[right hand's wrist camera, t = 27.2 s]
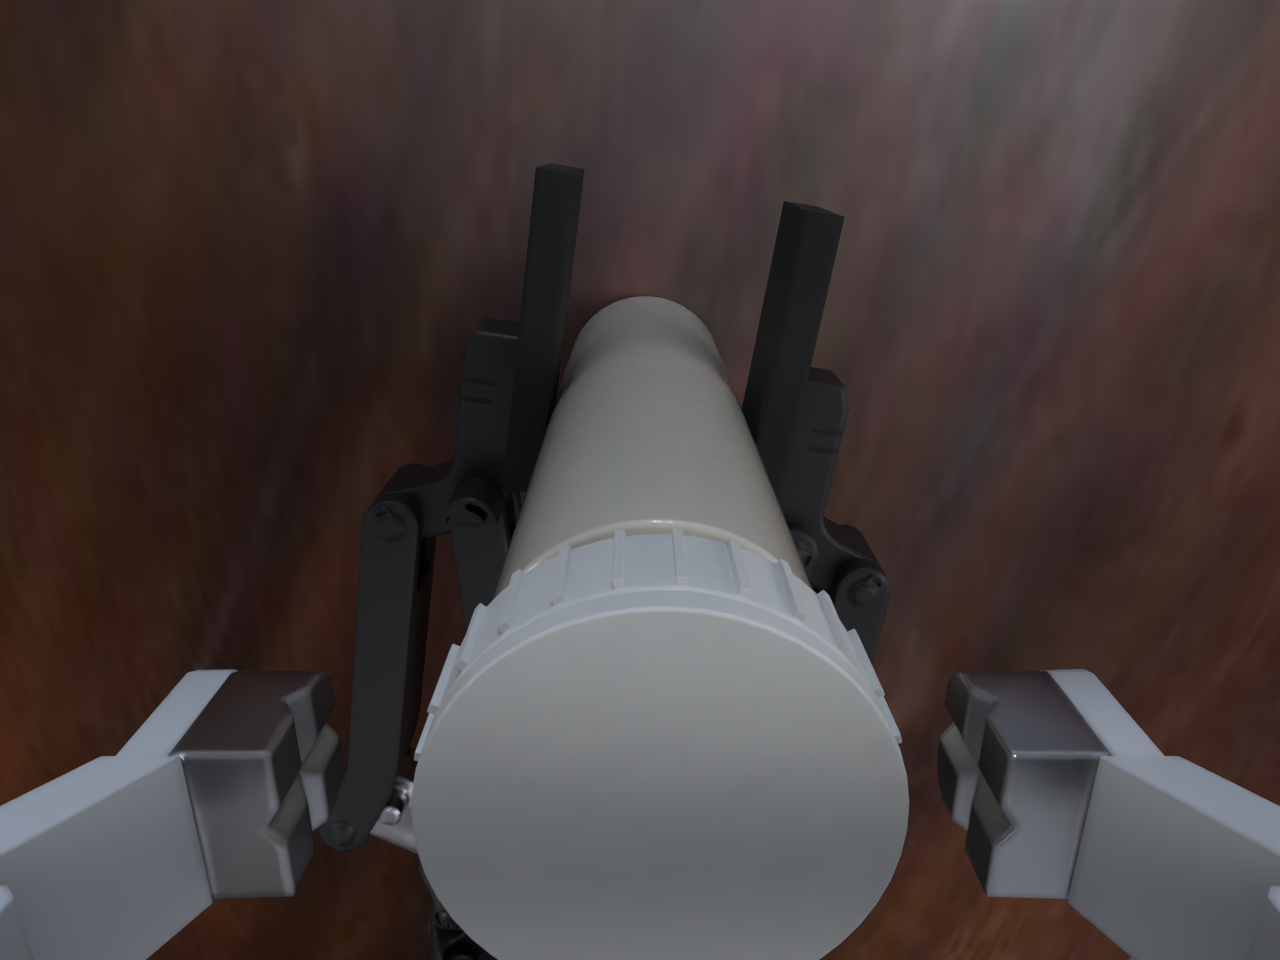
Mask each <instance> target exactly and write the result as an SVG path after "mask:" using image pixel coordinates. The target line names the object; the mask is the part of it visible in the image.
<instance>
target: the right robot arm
mask: <svg viewBox="0 0 1280 960" xmlns="http://www.w3.org/2000/svg"><path fill="white" fill-rule="evenodd" d="M334 705H335V699H334V694H333V689H332V683H331V679H330V678H329V677H328V676H327V674H326V673H325V672H318V671H269V670H239V671H237V670H234V669H231V670H196V671H192V672H188V673H187V674H186V675H185V676H184V677H183V678H182V679H181V680H180V682H179V683H178V684H177V685H176V686H175V687H174V689H173V690H172V691H171V692H170V693H169V694H168V696H167V697H166V698H165V699H164V700H163V701H162V703H161V704H160V705H159V706H158V707H157V708H156V709H155V711H154V712H153V713H152V714H151V715H150V716H149V718H148V719H147V720H146V721H145V722H144V723H143V725H142V726H141V727H140V728H139V729H138V730H137V732H136V733H135V734H134V735H133V736H132V737H131V739H130V740H129V741H128V742H127V743H126V744H125V746H124V747H123V748H122V749H121V750H120V751H119V752H118V754H117V755H116V756H101V757H99V758H97V759H95V760H93V761H91V762H88V763H86V764H84V765H82V766H80V767H78V768H76V769H74V770H72V771H70V772H68V773H66V774H64V775H62V776H60V777H58V778H56V779H54V780H52V781H50V782H48V783H46V784H44V785H42V786H40V787H38V788H36V789H34V790H32V791H30V792H28V793H26V794H24V795H22V796H20V797H18V798H16V799H14V800H12V801H10V802H8V803H6V804H4V805H2V806H0V960H146V959H147V958H148V957H149V956H151V955H152V954H153V953H154V952H155V951H157V950H158V949H159V948H160V947H161V946H162V945H164V944H165V943H166V942H167V941H168V940H169V939H171V938H172V937H173V936H174V935H175V934H177V933H178V932H179V931H180V930H181V929H182V928H184V927H185V926H186V925H187V924H188V923H189V922H191V921H192V920H193V919H194V918H195V917H197V916H198V915H199V914H200V913H201V912H202V911H204V910H205V909H206V908H207V907H208V906H209V905H211V904H212V899H218V898H253V897H288V896H294V894H295V892H296V889H297V887H298V885H299V883H300V881H301V879H302V877H303V874H304V872H305V870H306V868H307V866H308V864H309V861H310V859H311V857H312V855H313V853H314V851H315V844H314V838H313V830H315V829H316V828H318V827H319V826H320V825H322V824H323V823H325V822H326V821H327V820H329V818H330V816H331V813H332V811H333V809H334V806H335V804H336V802H337V798H338V793H339V788H340V783H341V778H342V748H341V740H340V736H339V735H338V734H337V733H336V732H335V731H334V730H333V729H332V727H331V726H330V725H329V724H328V723H327V722H326V720H327V719H328V717H329V715H330V713H331V711H332V709H333V707H334ZM945 705H946V707H947V709H948V711H949V713H950V715H951V717H952V719H953V720H954V722H953V723H952V724H951V725H950V726H949V727H948V729H947V730H946V731H945V732H944V733H943V734H942V735H941V736H940V741H939V750H938V759H937V763H938V776H939V786H940V790H941V794H942V798H943V801H944V804H945V806H946V809H947V811H948V813H949V816H950V818H951V820H953V821H954V822H955V823H957V824H958V825H960V826H961V827H962V828H964V829H965V830H967V831H968V832H967V838H966V844H965V851H966V853H967V855H968V857H969V859H970V861H971V864H972V866H973V868H974V870H975V872H976V874H977V876H978V879H979V881H980V883H981V885H982V887H983V889H984V891H985V893H986V896H990V897H1026V898H1061V899H1068V901H1067V903H1069V904H1070V905H1071V906H1072V907H1073V908H1074V909H1076V910H1077V911H1078V912H1079V913H1080V914H1082V915H1083V916H1084V917H1085V918H1086V919H1087V920H1089V921H1090V922H1091V923H1092V924H1093V925H1094V926H1096V927H1097V928H1098V929H1099V930H1100V931H1101V932H1103V933H1104V934H1105V935H1106V936H1107V937H1109V938H1110V939H1111V940H1112V941H1113V942H1114V943H1116V944H1117V945H1118V946H1119V947H1120V948H1121V949H1123V950H1124V951H1125V952H1126V953H1127V954H1128V955H1130V956H1131V957H1132V958H1133V959H1134V960H1280V806H1278V805H1276V804H1274V803H1272V802H1270V801H1268V800H1266V799H1264V798H1262V797H1260V796H1258V795H1256V794H1254V793H1252V792H1250V791H1248V790H1246V789H1244V788H1242V787H1240V786H1238V785H1236V784H1234V783H1232V782H1230V781H1228V780H1226V779H1224V778H1222V777H1220V776H1218V775H1216V774H1214V773H1212V772H1210V771H1208V770H1206V769H1204V768H1202V767H1200V766H1198V765H1196V764H1193V763H1191V762H1189V761H1187V760H1185V759H1183V758H1181V757H1179V756H1164V755H1163V754H1162V753H1161V751H1160V750H1159V749H1158V748H1157V747H1156V746H1155V744H1154V743H1153V742H1152V741H1151V740H1150V739H1149V737H1148V736H1147V735H1146V734H1145V733H1144V732H1143V730H1142V729H1141V728H1140V727H1139V726H1138V725H1137V723H1136V722H1135V721H1134V720H1133V719H1132V718H1131V717H1130V715H1129V714H1128V713H1127V712H1126V711H1125V710H1124V708H1123V707H1122V706H1121V705H1120V704H1119V703H1118V701H1117V700H1116V699H1115V698H1114V697H1113V696H1112V694H1111V693H1110V692H1109V691H1108V690H1107V689H1106V688H1105V686H1104V685H1103V684H1102V683H1101V682H1100V681H1099V679H1098V678H1097V677H1096V676H1095V675H1094V674H1093V673H1091V672H1089V671H1087V670H1084V669H1070V670H1043V671H1021V672H977V673H953V674H952V676H951V679H950V681H949V683H948V686H947V693H946V699H945Z"/></svg>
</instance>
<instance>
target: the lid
mask: <svg viewBox="0 0 1280 960" xmlns="http://www.w3.org/2000/svg"><path fill="white" fill-rule="evenodd" d="M884 695H885V693H884V691H883V689H882V687H881V684H880V682H879V680H878V678H877V675H876V673H875V671H874V669H873V667H872V664H871V662H870V660H869V658H868V656H867V653H866V651H865V649H864V647H863V644H862V642H861V640H860V638H859V636H858V634H857V632H856V630H855V629H852V630H850V631H848V632H847V630H846V629H845V627H844V626H843V624H842V622H841V621H840V619H839V617H838V615H837V613H836V610H835V608H834V605H833V603H832V601H831V598H830V596H829V595H828V594H827V593H826V592H825V591H824V590H822V591H821V592H820V593H818V594H817V593H816V592H814V591H813V590H812V589H811V588H810V587H809V586H807V585H806V584H805V583H804V582H803V581H802V580H800V579H799V578H798V577H796V576H795V575H793V574H792V571H791V568H790V566H789V563H788V562H786V561H785V560H783V559H780V560H779V561H778V562H777V564H776V563H774V562H772V561H770V560H768V559H765V558H763V557H761V556H759V555H757V554H755V553H753V552H751V551H748V550H745V549H742V548H740V544H739V540H737V539H734V538H731V537H729V539H728V541H727V543H724V542H720V541H715V540H710V539H705V538H700V537H695V536H686V535H683V529H682V528H672V534H644V535H630V536H626V534H625V530H618V531H615V533H614V538H612V539H606V540H601V541H598V542H594V543H591V544H588V545H584V546H581V547H577V548H574V549H572V548H571V546H570V544H566V545H563V546H561V547H560V549H559V555H558V556H556V557H553V558H551V559H549V560H547V561H545V562H543V563H542V564H540V565H538V566H536V567H535V568H533V569H531V570H530V571H528V572H526V573H525V574H524V573H523V572H522V570H521V569H518V570H517V571H515V572H514V573H513V574H512V576H511V580H510V583H509V586H508V587H506V588H505V589H504V590H503V591H501V592H500V593H499V594H498V595H497V596H496V598H495V599H494V600H493V601H492V602H491V603H490V604H489V605H488V606H487V607H486V606H484V605H483V604H481V603H480V604H479V605H478V606H477V607H476V608H475V610H474V613H473V616H472V619H471V622H470V624H469V627H468V630H467V633H466V636H465V638H464V639H463V641H462V643H461V645H460V646H457V645H455V644H452V646H451V648H450V650H449V653H448V656H447V658H446V661H445V664H444V666H443V669H442V672H441V675H440V677H439V680H438V683H437V685H436V688H435V691H434V693H433V696H432V699H431V702H430V704H429V707H428V710H427V712H428V713H429V715H428V718H427V721H426V723H425V726H424V729H423V732H422V734H421V737H420V740H419V743H418V745H417V748H416V751H415V756H414V760H415V761H418V764H417V767H416V770H415V777H414V783H413V789H412V826H413V832H414V838H415V844H416V849H417V852H418V855H419V858H420V861H421V864H422V867H423V870H424V873H425V875H426V877H427V879H428V881H429V883H430V885H431V887H432V889H433V891H434V892H435V894H436V896H437V898H438V899H439V901H440V902H441V904H442V905H443V906H444V908H445V909H446V911H447V912H448V913H449V915H450V916H451V918H452V919H453V920H454V921H455V922H456V923H457V924H458V925H459V926H460V927H461V928H462V930H463V931H464V932H465V933H466V934H467V935H468V936H469V937H470V938H471V939H472V940H473V941H475V942H476V943H477V944H478V945H479V946H481V947H482V948H483V949H484V950H486V951H487V952H488V953H489V954H490V955H492V956H493V957H495V958H496V959H498V960H819V959H820V958H822V957H823V956H824V955H826V954H827V953H828V952H830V951H831V950H832V949H834V948H835V947H836V946H838V945H839V944H840V943H841V942H842V941H843V940H845V939H846V938H847V937H848V936H849V935H850V934H851V933H852V932H853V931H854V930H855V929H856V928H857V927H858V926H859V925H860V924H861V923H862V922H863V920H864V919H865V918H866V916H867V915H868V914H869V913H870V911H871V910H872V909H873V908H874V906H875V905H876V904H877V903H878V901H879V899H880V898H881V896H882V894H883V892H884V891H885V889H886V887H887V886H888V884H889V882H890V881H891V879H892V876H893V874H894V871H895V869H896V866H897V864H898V861H899V859H900V857H901V853H902V849H903V845H904V840H905V836H906V832H907V825H908V812H909V794H908V783H907V774H906V770H905V767H904V763H903V759H902V755H901V751H900V748H899V746H898V744H899V743H902V739H901V734H900V732H899V730H898V728H897V725H896V723H895V721H894V719H893V716H892V714H891V712H890V710H889V708H888V705H887V703H886V701H885V699H884Z"/></svg>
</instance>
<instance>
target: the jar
mask: <svg viewBox="0 0 1280 960" xmlns="http://www.w3.org/2000/svg"><path fill="white" fill-rule="evenodd" d="M672 528H682V529H683V535H686V536H695V537H700V538H705V539H710V540H715V541H720V542H724V543H727V541H728V539H729V537H731V538H734V539H737V540H739V544H740V548H742V549H745V550H748V551H751V552H753V553H755V554H757V555H759V556H761V557H763V558H765V559H768V560H770V561H772V562H774V563H776V564H777V562H778V561H779V560H780V559H783V560H785V561H786V562H788V563H789V566H790V568H791V571H792V574H793V575H795V576H796V577H798V578H799V579H800V580H802V581H803V582H804V583H805V584H806V585H807V586H809V587H810V588H811V589H812V586H811V584H810V581H809V579H808V576H807V574H806V571H805V569H804V566H803V564H802V561H801V559H800V556H799V553H798V551H797V548H796V546H795V543H794V541H793V538H792V536H791V533H790V531H789V528H788V526H787V523H786V520H785V518H784V515H783V513H782V510H781V508H780V505H779V503H778V500H777V498H776V495H775V493H774V490H773V488H772V485H771V482H770V480H769V477H768V475H767V472H766V470H765V467H764V465H763V462H762V460H761V457H760V455H759V452H758V449H757V447H756V444H755V442H754V439H753V437H752V434H751V432H750V429H749V427H748V424H747V422H746V419H745V417H744V414H743V411H742V409H741V406H740V404H739V401H738V399H737V396H736V394H735V391H734V389H733V386H732V384H731V381H730V379H729V376H728V373H727V371H726V368H725V366H724V363H723V361H722V358H721V356H720V353H719V351H718V348H717V346H716V343H715V341H714V339H713V337H712V335H711V333H710V331H709V330H708V329H707V327H706V326H705V324H704V323H703V322H702V321H701V320H700V319H699V318H698V317H697V316H696V315H695V314H693V313H692V312H691V311H690V310H688V309H687V308H685V307H683V306H682V305H680V304H677V303H675V302H673V301H670V300H667V299H663V298H658V297H651V296H640V297H631V298H627V299H623V300H620V301H617V302H615V303H612V304H610V305H608V306H607V307H605V308H603V309H602V310H600V311H599V312H598V313H596V314H595V315H594V316H593V317H592V318H591V319H590V320H589V321H588V322H587V323H586V324H585V326H584V327H583V328H582V329H581V331H580V333H579V334H578V336H577V338H576V340H575V343H574V345H573V347H572V350H571V354H570V357H569V360H568V363H567V366H566V369H565V372H564V376H563V379H562V382H561V385H560V388H559V391H558V395H557V398H556V401H555V404H554V407H553V410H552V413H551V417H550V420H549V423H548V426H547V429H546V432H545V436H544V439H543V442H542V445H541V448H540V451H539V454H538V458H537V461H536V464H535V467H534V470H533V473H532V477H531V480H530V483H529V486H528V489H527V492H526V495H525V499H524V502H523V505H522V508H521V511H520V514H519V517H518V521H517V524H516V527H515V530H514V533H513V536H512V540H511V543H510V546H509V549H508V552H507V555H506V558H505V562H504V565H503V568H502V571H501V574H500V577H499V581H498V584H497V587H496V590H495V593H494V596H493V599H492V601H493V600H494V599H495V598H496V596H497V595H498V594H499V593H500V592H501V591H503V590H504V589H505V588H506V587H508V586H509V583H510V580H511V576H512V574H513V573H514V572H515V571H517V570H518V569H521V570H522V572H523V573H524V574H525V573H526V572H528V571H530V570H531V569H533V568H535V567H536V566H538V565H540V564H542V563H543V562H545V561H547V560H549V559H551V558H553V557H556V556H558V555H559V549H560V547H561V546H563V545H566V544H570V546H571V548H572V549H574V548H577V547H581V546H584V545H588V544H591V543H594V542H598V541H601V540H606V539H612V538H614V533H615V531H618V530H625V534H626V536H630V535H644V534H672ZM812 590H813V589H812Z"/></svg>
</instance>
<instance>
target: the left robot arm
mask: <svg viewBox="0 0 1280 960" xmlns="http://www.w3.org/2000/svg"><path fill="white" fill-rule="evenodd" d="M583 176H584V169H580V168H574V167H567V166H561V165H555V164H547V165H543V166H540V167H536V172H535V182H534V192H533V201H532V211H531V220H530V230H529V240H528V249H527V259H526V268H525V278H524V288H523V297H522V307H521V316H520V323H517V322H510V321H504V320H497V319H490V318H486V319H485V320H484V321H483V322H482V324H481V325H480V326H479V327H478V328H477V329H476V331H475V332H474V334H473V336H472V338H471V340H470V342H469V344H468V346H467V348H466V350H465V352H464V356H463V368H462V382H461V393H460V405H459V417H458V429H457V441H456V453H455V458H454V459H452V460H451V461H449V462H446V463H442V464H438V465H433V466H427V467H426V466H424V465H421V464H407V465H405V466H402V467H400V468H399V469H398V470H397V471H396V472H395V474H394V475H393V476H392V477H391V479H390V480H389V482H388V483H387V484H386V486H385V487H384V488H383V490H382V491H381V493H380V494H379V495H378V497H377V498H376V499H375V501H374V502H373V503H372V505H371V506H370V508H369V509H368V510H367V512H366V513H365V516H364V519H363V524H362V540H361V556H360V572H359V588H358V604H357V620H356V636H355V652H354V668H353V684H352V700H351V716H350V732H349V748H348V764H347V768H346V770H345V772H344V774H343V776H342V779H341V783H340V788H339V793H338V798H337V802H336V804H335V806H334V809H333V811H332V813H331V816H330V818H329V820H327V821H326V822H325V823H323V824H322V825H320V828H319V833H320V837H321V839H322V840H323V841H324V842H325V844H326V845H328V846H330V847H331V848H333V849H336V850H340V851H352V850H355V849H357V848H360V847H361V846H362V845H363V844H364V842H365V841H366V839H367V838H368V836H369V834H371V835H373V836H376V837H378V838H381V839H383V840H385V841H388V842H390V843H392V844H395V845H397V846H399V847H402V848H404V849H407V850H409V851H411V852H414V853H416V854H418V852H417V849H416V844H415V838H414V832H413V826H412V789H413V783H414V777H415V770H416V767H417V764H418V761H415V760H414V756H415V751H416V749H415V748H410V747H409V746H410V743H411V740H412V738H413V735H414V732H415V729H416V726H417V722H418V717H419V711H420V703H421V693H422V682H423V672H424V661H425V651H426V641H427V630H428V620H429V609H430V599H431V588H432V578H433V567H434V557H435V546H436V536H437V535H442V534H448V533H451V539H452V545H453V551H454V557H455V563H456V569H457V575H458V582H459V588H460V594H461V600H462V606H463V612H464V618H465V624H466V630H468V627H469V624H470V622H471V619H472V616H473V613H474V610H475V608H476V607H477V606H478V605H479V604H480V603H481V604H483V605H484V606H486V607H487V606H488V605H489V604H490V603H491V602H492V599H493V596H494V593H495V590H496V587H497V584H498V581H499V577H500V574H501V571H502V568H503V565H504V562H505V558H506V555H507V552H508V549H509V546H510V543H511V540H512V536H513V533H514V530H515V527H516V524H517V521H518V517H519V514H520V511H521V508H522V507H521V499H520V491H522V492H527V489H528V486H529V483H530V480H531V477H532V473H533V470H534V467H535V464H536V461H537V458H538V454H539V451H540V448H541V445H542V442H543V439H544V436H545V432H546V429H547V426H548V423H549V420H550V417H551V413H552V410H553V407H554V404H555V401H556V397H557V388H558V380H559V372H560V364H561V356H562V348H563V339H564V331H565V323H566V315H567V307H568V299H569V290H570V282H571V274H572V266H573V258H574V250H575V242H576V233H577V225H578V217H579V209H580V201H581V193H582V184H583ZM843 221H844V217H843V216H841V215H838V214H835V213H833V212H830V211H828V210H825V209H822V208H820V207H816V206H810V205H804V204H798V203H792V202H785V201H784V204H783V208H782V213H781V218H780V223H779V228H778V233H777V238H776V243H775V248H774V253H773V258H772V263H771V268H770V273H769V278H768V283H767V288H766V293H765V298H764V303H763V308H762V313H761V318H760V322H759V327H758V332H757V337H756V342H755V347H754V352H753V357H752V362H751V367H750V372H749V377H748V382H747V387H746V392H745V397H744V402H743V407H742V411H743V414H744V417H745V419H746V422H747V424H748V427H749V429H750V432H751V434H752V437H753V439H754V442H755V444H756V447H757V449H758V452H759V455H760V457H761V460H762V462H763V465H764V467H765V470H766V472H767V475H768V477H769V480H770V482H771V485H772V488H773V490H774V493H775V495H776V498H777V500H778V503H779V505H780V508H781V510H782V513H783V515H784V518H785V520H786V523H787V526H788V528H789V531H790V533H791V536H792V538H793V541H794V543H795V546H796V548H797V551H798V553H799V556H800V559H801V561H802V564H803V566H804V569H805V571H806V574H807V576H808V579H809V581H810V584H811V586H812V589H813V591H814V592H816V593H817V594H818V593H820V592H821V591H822V590H824V591H825V592H826V593H827V594H828V595H829V596H830V598H831V601H832V603H833V605H834V608H835V610H836V613H837V615H838V617H839V619H840V621H841V622H842V624H843V626H844V627H845V629H846V630H847V632H848V631H850V630H852V629H855V630H856V632H857V634H858V636H859V638H860V640H861V642H862V644H863V647H864V649H865V651H866V653H867V656H868V658H869V660H870V662H871V664H872V662H873V659H874V655H875V651H876V647H877V644H878V640H879V636H880V632H881V629H882V625H883V621H884V617H885V614H886V610H887V606H888V602H889V599H890V591H891V586H890V584H889V581H888V579H887V577H886V575H885V573H884V572H883V570H882V568H881V566H880V564H879V563H878V561H877V559H876V557H875V555H874V554H873V552H872V550H871V548H870V547H869V545H868V543H867V542H866V540H865V538H864V536H863V534H862V533H861V532H860V531H859V530H858V529H856V528H855V527H852V526H849V525H838V524H836V523H834V522H832V521H830V520H829V519H827V518H825V517H824V508H825V504H826V500H827V496H828V492H829V488H830V484H831V480H832V476H833V472H834V468H835V464H836V460H837V453H838V452H839V448H840V444H841V440H842V434H843V431H844V427H845V423H846V419H847V415H848V411H849V409H848V403H847V397H846V390H845V386H844V385H843V384H842V382H841V381H840V380H839V379H838V378H837V376H836V375H835V374H834V373H833V371H832V370H826V369H820V368H813V367H810V366H811V362H812V357H813V353H814V349H815V344H816V340H817V335H818V331H819V327H820V322H821V318H822V313H823V309H824V304H825V300H826V296H827V291H828V287H829V282H830V278H831V274H832V269H833V265H834V260H835V256H836V251H837V247H838V243H839V238H840V234H841V229H842V225H843ZM417 865H418V870H419V873H420V876H421V878H422V880H423V882H424V883H425V885H426V886H427V888H428V890H429V892H430V894H431V897H432V901H433V913H432V924H431V935H430V946H429V957H428V960H498V959H496V958H495V957H493V956H492V955H490V954H489V953H488V952H487V951H486V950H484V949H483V948H482V947H481V946H479V945H478V944H477V943H476V942H475V941H473V940H472V939H471V938H470V937H469V936H468V935H467V934H466V933H465V932H464V931H463V930H462V928H461V927H460V926H459V925H458V924H457V923H456V922H455V921H454V920H453V919H452V918H451V916H450V915H449V913H448V912H447V911H446V909H445V908H444V906H443V905H442V904H441V902H440V901H439V899H438V898H437V896H436V894H435V892H434V891H433V889H432V887H431V885H430V883H429V881H428V879H427V877H426V875H425V873H424V870H423V867H422V864H421V861H420V858H419V855H417Z"/></svg>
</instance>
